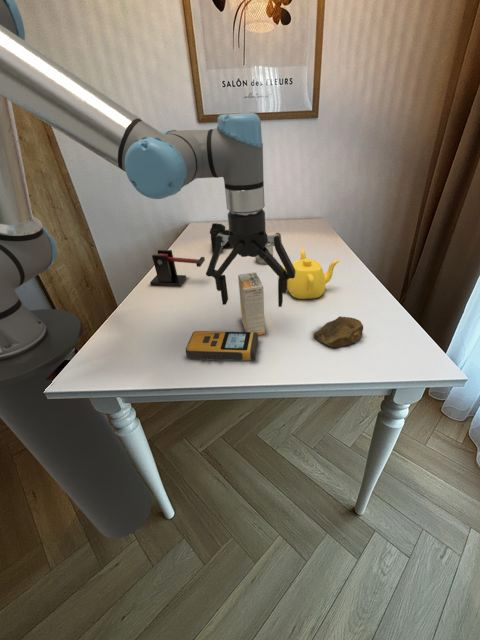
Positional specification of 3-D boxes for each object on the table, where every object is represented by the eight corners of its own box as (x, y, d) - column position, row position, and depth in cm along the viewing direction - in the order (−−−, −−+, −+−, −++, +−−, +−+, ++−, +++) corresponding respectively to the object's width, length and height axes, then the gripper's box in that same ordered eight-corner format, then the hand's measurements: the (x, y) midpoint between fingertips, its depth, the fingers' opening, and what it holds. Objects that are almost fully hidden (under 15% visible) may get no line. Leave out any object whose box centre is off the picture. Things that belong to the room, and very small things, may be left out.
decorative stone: (336, 354, 70) (338, 342, 68) (307, 335, 76) (308, 323, 74) (366, 337, 75) (369, 325, 72) (337, 320, 81) (339, 308, 78)
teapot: (337, 290, 94) (341, 258, 87) (310, 307, 86) (312, 274, 80) (300, 277, 101) (302, 247, 95) (273, 292, 94) (273, 260, 88)
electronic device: (195, 339, 76) (193, 328, 74) (258, 340, 75) (257, 329, 73) (186, 361, 70) (183, 349, 68) (254, 363, 68) (254, 351, 66)
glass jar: (270, 265, 109) (270, 243, 104) (253, 264, 111) (252, 242, 106) (275, 258, 114) (274, 237, 109) (258, 257, 115) (257, 236, 111)
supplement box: (265, 334, 77) (264, 286, 69) (246, 337, 76) (243, 289, 68) (259, 317, 83) (256, 271, 75) (241, 319, 82) (237, 273, 74)
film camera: (235, 253, 119) (233, 229, 113) (210, 254, 119) (207, 230, 113) (237, 240, 131) (235, 217, 125) (214, 241, 131) (212, 218, 125)
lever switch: (205, 262, 98) (204, 255, 97) (200, 269, 94) (199, 261, 93) (162, 258, 99) (161, 251, 98) (156, 265, 96) (155, 257, 94)
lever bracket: (186, 278, 103) (180, 249, 97) (180, 286, 99) (173, 257, 92) (158, 277, 105) (150, 248, 98) (150, 285, 100) (142, 256, 94)
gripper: (309, 204, 63) (305, 297, 76) (192, 205, 67) (207, 293, 80) (308, 215, 57) (303, 313, 71) (180, 215, 61) (198, 309, 74)
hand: (252, 303), depth 75 cm, fingers open, 13 cm apart
